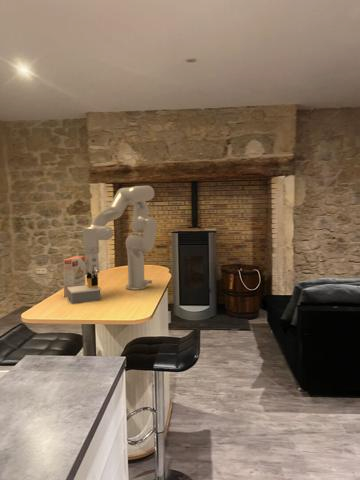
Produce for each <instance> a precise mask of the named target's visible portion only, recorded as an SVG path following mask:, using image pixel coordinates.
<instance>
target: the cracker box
mask: <svg viewBox="0 0 360 480" xmlns="http://www.w3.org/2000/svg"><path fill="white" fill-rule="evenodd" d="M62 265H63V266H62V267H63V268H62V269H63V296H64V297H63V298H68V289H67V287H74V286H83V285H86V256H83V255H77V256H76V255H75V256H71V257H68V258H64V259H63V260H62Z"/></svg>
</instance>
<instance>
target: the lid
mask: <svg viewBox="0 0 360 480" xmlns="http://www.w3.org/2000/svg"><path fill="white" fill-rule="evenodd" d="M86 283H87V284H85V285H83V286H74V287H67V289H68V290H69V291H70V292H71V293H80V292H89V291H97V290H100V291H101V290H102V288H101V287H99V284H98V285H97V286H92V285H91V278H90V279H87V278H86Z"/></svg>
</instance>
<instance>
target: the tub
mask: <svg viewBox="0 0 360 480" xmlns="http://www.w3.org/2000/svg"><path fill="white" fill-rule="evenodd" d="M67 299H68V301H70V304H73V305H74V304H80V303H81V304H82V303H87V302H96V301H101V290H97V291H89V292H80V293H71V292H70V291H69V290H68V297H67Z"/></svg>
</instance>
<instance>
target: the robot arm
mask: <svg viewBox="0 0 360 480" xmlns="http://www.w3.org/2000/svg"><path fill="white" fill-rule="evenodd" d="M154 196H155V190H154V188H153V187H152V186H151V185H135V186H131V187H121V188H119V189H118V190H117V191H116V193H115V195H114V197H113V198H112V200H111V201H110V203H109V204H108V207H106V208H105V209H104V210H103V211H101V212H100V213H99V214H98V215H97V216H96V217H95V218H94V219H93V220H92V222H91V224H90V225H89V226H86V227H84V228H83V229H82V232H83V233H82V235H83V237H82V238H83V239H82V241H83V255H85V272H86V280H87V279H90V278H91V285H92V286H97V285H98V286H99V273H100V260H99V254H100V243H99V242H100V241H109V240H110V239H112V238H113V236H114V230H113V228H112V227H110V226H108V225H107V224H108V223H110V222H112V221H114V220H117V219H118V218H120V217H122V215H123V214H124V212H125V210H126V208H127V206H128V205H129V204H132V205H133V213H132V220H131V223H130V224H131V226H130V229H131V231H132V232H134V233H138V234H130V235H128V236H127V237H126V239H125V248H126V252H127V274H128V275H127V278H128V279H127V281H128V283H127V285H125V288H126V289H127V290H132V291H138V290H139V291H140V289H141V290H144V289H147V288H148V284H152V283H153V280H152V279H149V280H148V279H145V257H144V254H143V252H145V253H146V252H147V253H148V252H151V251H152V250H153V248H154V246H155V241H156V234H157V229H158V227H157V226H158V225H157V224H158V223H157V221H156V219H155V218H154V217H151V216H148V214H149V208H148V207H149V206H148V204H147V202H148V201H151V200H152V199H153V198H154ZM139 233H140V234H139Z"/></svg>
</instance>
